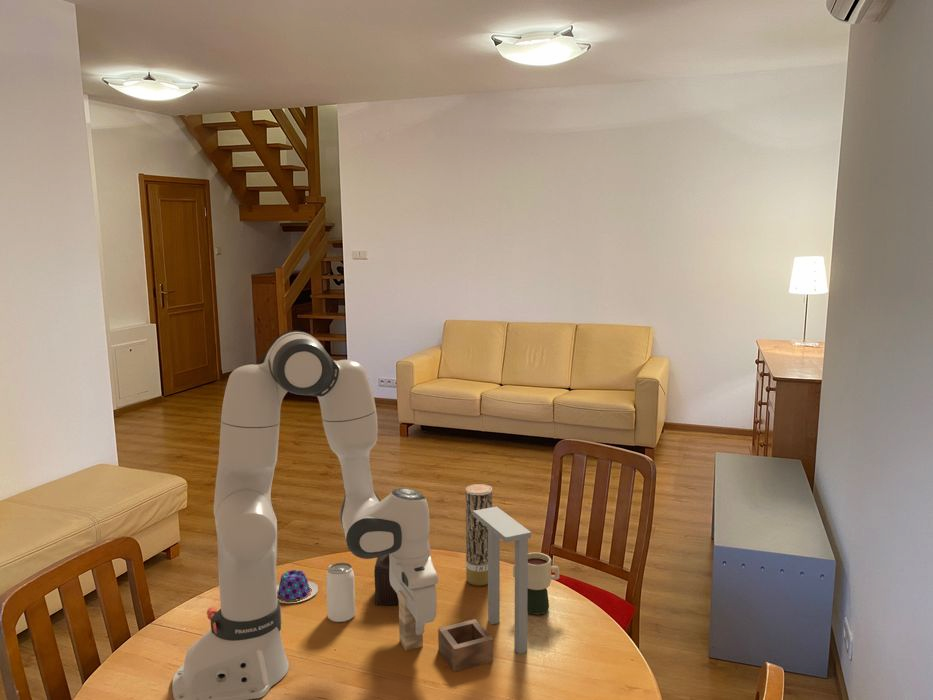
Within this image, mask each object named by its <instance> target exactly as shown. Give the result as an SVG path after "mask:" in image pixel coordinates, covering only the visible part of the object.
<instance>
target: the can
mask: <svg viewBox="0 0 933 700" xmlns="http://www.w3.org/2000/svg"><path fill="white" fill-rule="evenodd" d="M352 568H353V567H352V565H351V564H350V563H348V562H336V563H333V564H331V565H329V566H328V567H327V572H326V575H325V583H326V585H325V586H326V607H327V608H326V613H327V618H328V619H329V621H332V622H334V623H345V622H349V621H350V620H352V619H353V618H354V617H355V615H356V599H355V597H356V593H355V573H354V570H353V569H352Z"/></svg>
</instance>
